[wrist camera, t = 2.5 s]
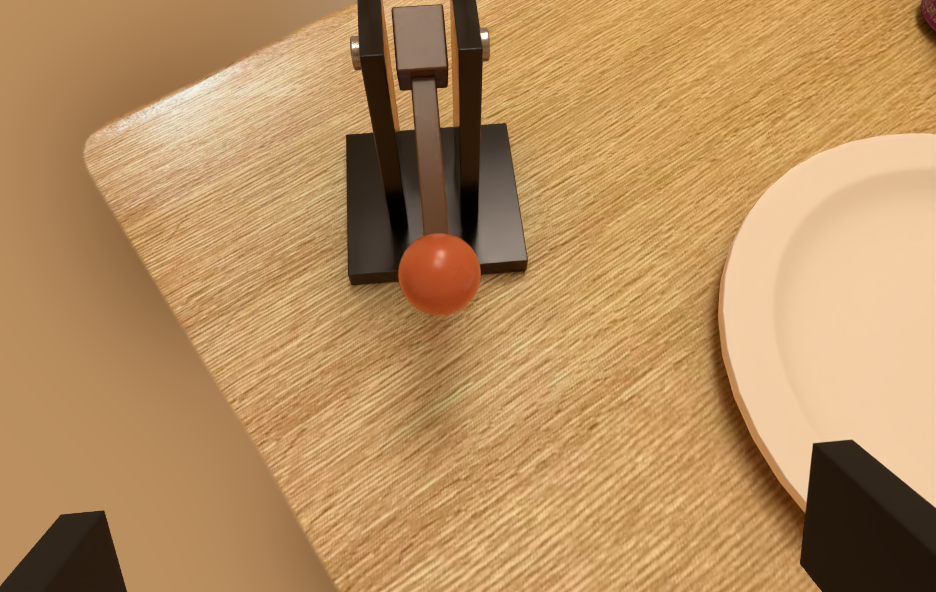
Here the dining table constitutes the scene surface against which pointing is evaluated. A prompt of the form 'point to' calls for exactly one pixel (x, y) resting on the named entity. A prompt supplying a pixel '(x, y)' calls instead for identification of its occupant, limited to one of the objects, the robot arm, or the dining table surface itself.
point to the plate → (839, 311)
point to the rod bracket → (396, 168)
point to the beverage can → (929, 12)
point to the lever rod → (430, 169)
